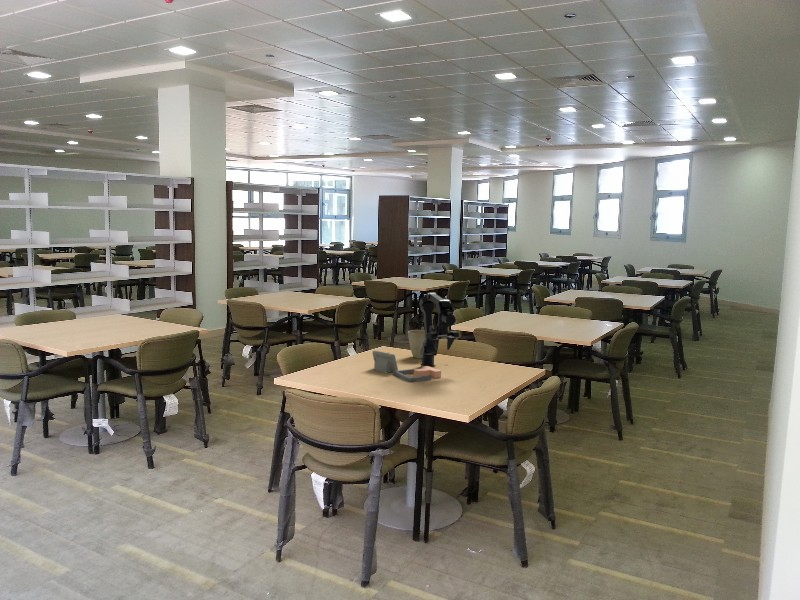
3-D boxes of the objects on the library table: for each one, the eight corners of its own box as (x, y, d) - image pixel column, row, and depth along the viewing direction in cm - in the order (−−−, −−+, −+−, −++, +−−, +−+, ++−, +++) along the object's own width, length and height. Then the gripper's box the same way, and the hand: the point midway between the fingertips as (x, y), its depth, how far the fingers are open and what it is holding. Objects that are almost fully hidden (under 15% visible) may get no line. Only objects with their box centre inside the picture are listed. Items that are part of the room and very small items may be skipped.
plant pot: (410, 360, 385) (410, 334, 383) (405, 354, 400) (405, 329, 398) (433, 359, 388) (434, 333, 386) (428, 354, 403) (428, 329, 401)
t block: (427, 372, 355) (427, 365, 355) (440, 377, 344) (441, 370, 344) (409, 374, 349) (409, 367, 349) (422, 379, 338) (422, 373, 338)
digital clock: (399, 372, 353) (400, 353, 352) (386, 374, 347) (387, 355, 346) (381, 366, 365) (382, 348, 364) (369, 368, 360) (369, 350, 358)
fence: (413, 372, 353) (413, 368, 353) (431, 379, 338) (431, 375, 338) (392, 374, 347) (393, 371, 346) (410, 382, 331) (410, 378, 331)
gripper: (448, 319, 360) (447, 346, 362) (421, 321, 351) (420, 349, 353) (460, 322, 351) (459, 350, 353) (432, 324, 341) (431, 352, 343)
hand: (442, 350), depth 351 cm, fingers open, 7 cm apart
